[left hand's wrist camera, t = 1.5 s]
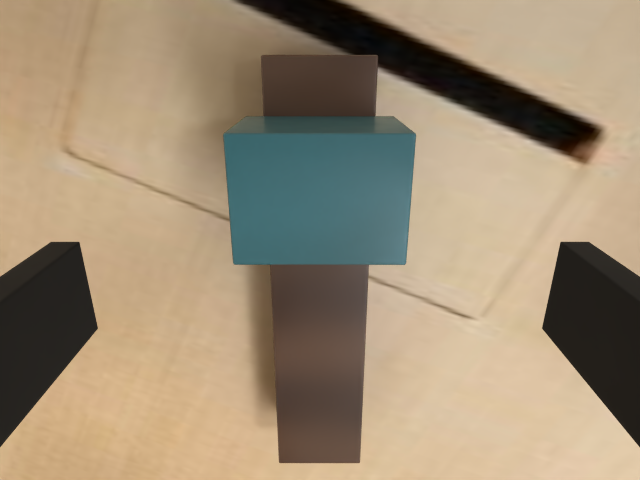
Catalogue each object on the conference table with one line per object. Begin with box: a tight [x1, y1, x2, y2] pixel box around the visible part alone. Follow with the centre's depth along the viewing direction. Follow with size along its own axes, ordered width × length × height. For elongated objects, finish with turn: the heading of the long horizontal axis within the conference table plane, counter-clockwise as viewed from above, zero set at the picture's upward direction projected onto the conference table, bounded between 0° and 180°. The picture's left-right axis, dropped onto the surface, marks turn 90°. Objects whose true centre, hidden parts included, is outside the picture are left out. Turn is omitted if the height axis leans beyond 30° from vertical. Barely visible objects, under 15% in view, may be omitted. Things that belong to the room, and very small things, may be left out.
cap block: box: [223, 116, 416, 265], centre depth 23 cm, size 6×8×6 cm
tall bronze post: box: [261, 55, 378, 463], centre depth 31 cm, size 28×6×5 cm, turn 0°
